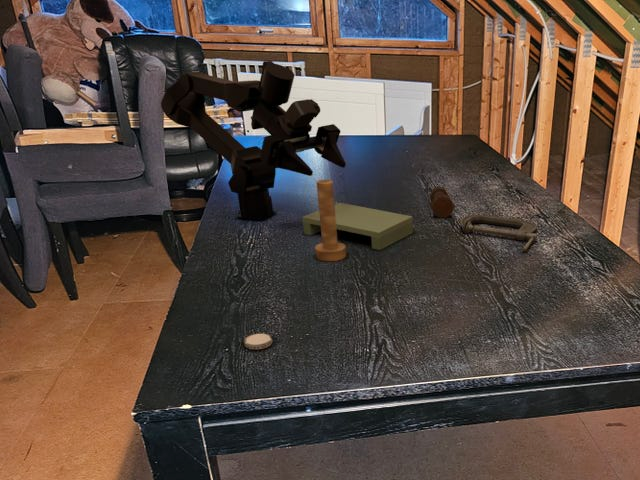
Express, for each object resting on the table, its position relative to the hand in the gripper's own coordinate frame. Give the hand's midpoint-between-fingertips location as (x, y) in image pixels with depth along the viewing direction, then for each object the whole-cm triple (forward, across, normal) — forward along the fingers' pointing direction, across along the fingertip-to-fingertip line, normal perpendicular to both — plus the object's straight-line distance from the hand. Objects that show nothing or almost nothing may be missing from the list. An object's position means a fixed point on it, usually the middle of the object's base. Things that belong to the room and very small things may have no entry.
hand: (328, 169), depth 134 cm
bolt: (+11, +32, +11) cm, 36 cm away
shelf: (+8, +6, +12) cm, 16 cm away
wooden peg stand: (+13, -8, +10) cm, 18 cm away
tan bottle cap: (+33, -40, -1) cm, 52 cm away
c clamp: (+30, +25, +1) cm, 39 cm away
